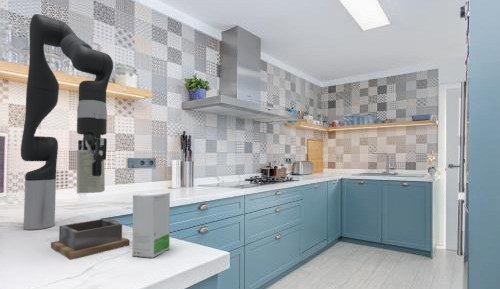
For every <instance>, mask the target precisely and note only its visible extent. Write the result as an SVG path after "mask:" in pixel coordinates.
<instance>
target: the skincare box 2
mask: <svg viewBox="0 0 500 289" xmlns="http://www.w3.org/2000/svg"><path fill="white" fill-rule="evenodd" d="M170 194H171V193H170V192H167V191H165V192H164V191H162V192H159V191H158V192H152V191H151V192H142V193H134V194H133V195H132V246H131V247H132V248H131V249H132V251H131V252H132V254H131V255H132V257H137V256H139V257H138V258H147V259H148V258H150V259H151V258H152V259H153V258H155V257H156V256H158V255H161V254H162V253H165V252H166V251H168V250H170V247H171V245H170V242H171V241H170V240H171V238H170V237H171V236H170V235H171V234H170V231H171V230H170V228H171V226H170V225H171V224H170V223H171V222H170V221H171V220H170V218H171V217H170V213H171V212H170V211H171V210H170V208H171V206H170V204H171V203H170V201H171V199H170V198H171V197H170V196H171V195H170Z"/></svg>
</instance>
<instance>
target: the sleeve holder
mask: <svg viewBox="0 0 500 289" xmlns="http://www.w3.org/2000/svg"><path fill="white" fill-rule="evenodd" d="M58 228H59V230H58V234H59V238H58V240H57V241H52V242H50V248H51V249H52V250H54V251H56V252H57V253H59V254H61V255H62V256H64V257H66V258H67V259H69V260H75V259H79V258H83V257H88V256H91V255H96V254H99V253H103V252H107V251H111V250H116V249H119V248H124V246H125V247H128V246H127V245H129V246H130V239H129V238H128V239H127V238H125V237H123V224H122V223H119V222H115V221H112V220H108V219H106V218H101V219H95V220H94V219H93V220H87V221H83V222H82V221H81V222H76V223H70V224H63V225H62V224H61V225H59V227H58Z"/></svg>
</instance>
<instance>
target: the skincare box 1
mask: <svg viewBox="0 0 500 289" xmlns="http://www.w3.org/2000/svg"><path fill="white" fill-rule="evenodd" d="M94 151H95V150H94ZM102 155H103V154H102ZM92 163H94V162H93V161H92V157H91V156H90V155H89V153H88V150H78V149H77V150H76V194H91V193H92V194H93V193H95V194H96V193H103V192H104V191H106V190H105V189H106V188H105V187H106V186H105V185H106V184H105V182H106V181H105V178H106V177H105V160H103V162H101V163H102V171H101V176H93V175H92Z"/></svg>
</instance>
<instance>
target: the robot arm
mask: <svg viewBox="0 0 500 289" xmlns="http://www.w3.org/2000/svg"><path fill="white" fill-rule="evenodd" d="M28 36H29V62H28V63H29V64H28V72H27V73H28V76H27V83H26V93H25V115H24V124H23V125H24V126H23V131H22V137H21V145H20V157H21V159H22V160H23V161H24V162H45V163H44V164H43V166H41V167H39V168H37V169H33V170H30V171H27V172H26V173H25V176H24V206H23V209H24V210H23V230H31V231H32V230H42V229H48V228H52V227H54V226H55V224H56V222H55V220H56V194H57V191H56V186H57V185H56V183H57V163H58V154H59V153H58V151H59V143H58V140H57V138H56V137H55V136H54V137H53V136H42V135H41V136H39V135H38V136H37V135H35V134H36V131H37V129H38V128H39V125H40V124H41V123H42V122H43V121H44V119H45V118H47V116H48V115H49V114H50V113H51V112H52V111H53V110H54V108H55V107H56V106H57V105H58V102H59V92H60V91H59V90H60V85H59V81H58V79H57V77H56V76H55V74H54V72H53V71H52V68H51V67H50V65H49V64H48V61H47V58H46V55H45V48H44V47H45V46H51V47H54V48H60V49H61V52H62V53H63V55H65V56H66V58H67V59H69V60H70V62H71V64H72V67H73V68H74V69H75V70H77V71H79V72H81V73H86V74H89V75H94V76H95V79H94V80H81V82H79V85H78V104H77V108H76V109H77V111H76V112H77V113H76V133H77V135H82V136H83V138H82V139H79V140H78V141H77V144H78V145H77V150H88V153H89V155H90V156H91V157H92V161H93V162H94V163H92V175H93V176H101V171H102V163H101V162H103V160H104V161H105V160H107V145H108V144H107V143H108V141H107V138H106V137H102V136H104V135H105V136H106V135H107V133H108V132H107V126H108V125H107V124H108V123H107V122H108V117H107V116H108V109H107V88H108V85H109V82H110V78H111V76H112V73H113V71H114V70H113V69H114V61H113V58H112V57H111V56H110V55H109V54H108V53H105V52H104V51H103V52H102V51H99V50H96V49H93V48H92V47H91V45H89V43H87V42H86V41H84V40H82V39H81V38H80V37H79V36H78V35H77V34H76V33H75V32H74V30H73V29H72V27H71V26H69V24H67V23H66V22H65V21H62V20H59V19H57V18H53V17H50V16H47V15H43V14H40V13H39V14H38V13H36V14H35V13H34V14H33V15H32V17H31V19H30V22H29V35H28ZM94 150H95V151H94ZM102 154H103V155H102Z"/></svg>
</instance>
